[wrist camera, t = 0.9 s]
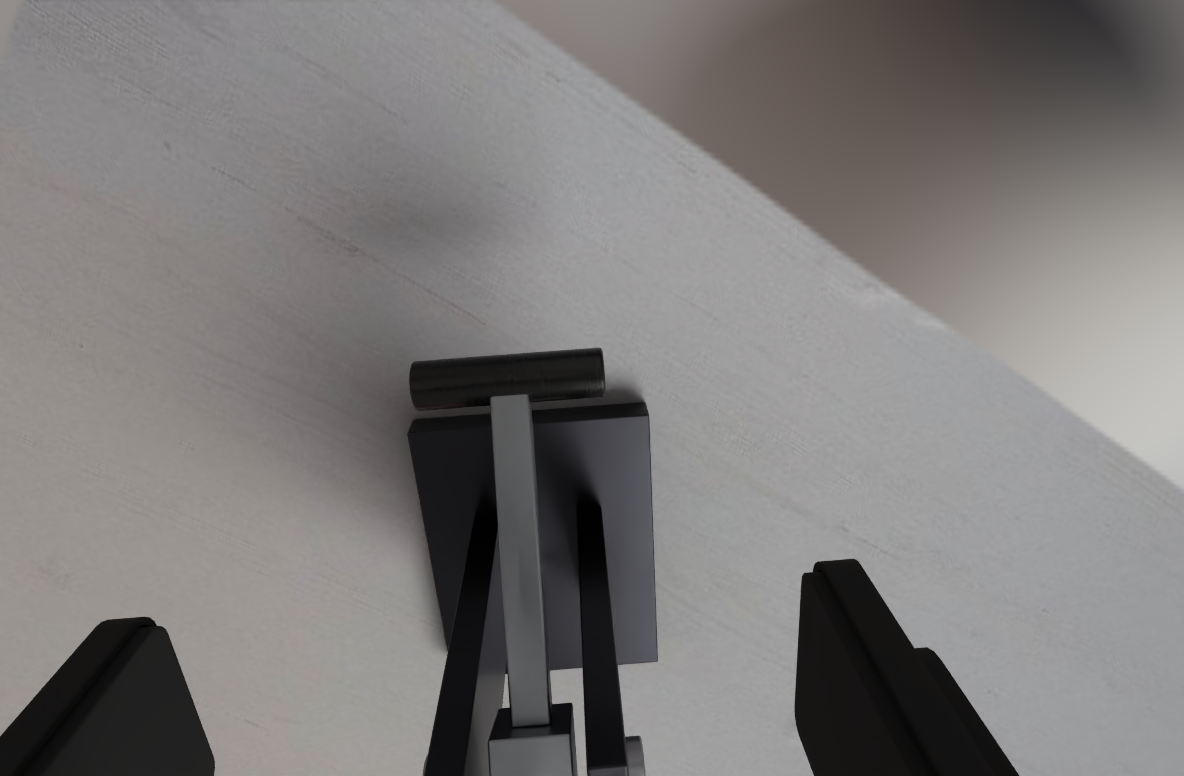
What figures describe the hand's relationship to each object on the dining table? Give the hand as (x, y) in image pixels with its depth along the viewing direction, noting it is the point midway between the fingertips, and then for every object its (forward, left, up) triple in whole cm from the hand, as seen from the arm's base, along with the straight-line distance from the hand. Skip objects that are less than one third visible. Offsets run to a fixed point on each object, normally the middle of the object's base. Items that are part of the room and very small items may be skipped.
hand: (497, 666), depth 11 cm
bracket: (+9, +2, -17) cm, 20 cm away
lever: (+6, +1, -9) cm, 11 cm away
